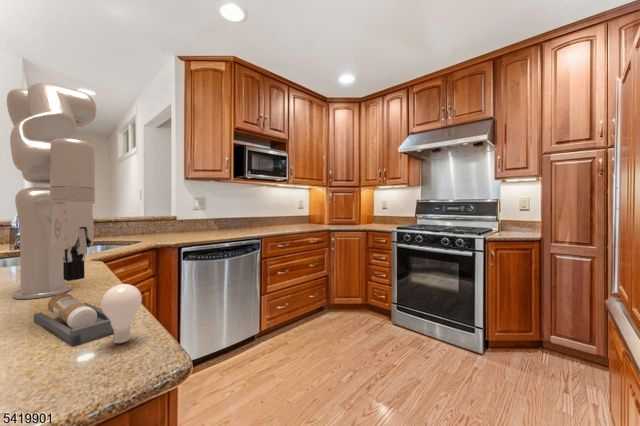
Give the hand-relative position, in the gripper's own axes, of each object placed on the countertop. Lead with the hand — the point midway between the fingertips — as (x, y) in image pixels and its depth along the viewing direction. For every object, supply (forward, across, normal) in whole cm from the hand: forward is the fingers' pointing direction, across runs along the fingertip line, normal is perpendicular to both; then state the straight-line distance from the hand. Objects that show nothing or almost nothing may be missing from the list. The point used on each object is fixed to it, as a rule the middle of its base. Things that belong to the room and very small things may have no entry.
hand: (74, 279), depth 64 cm
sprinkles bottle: (+6, -4, -1) cm, 7 cm away
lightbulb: (+10, +20, +1) cm, 22 cm away
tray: (+10, +3, 0) cm, 10 cm away
